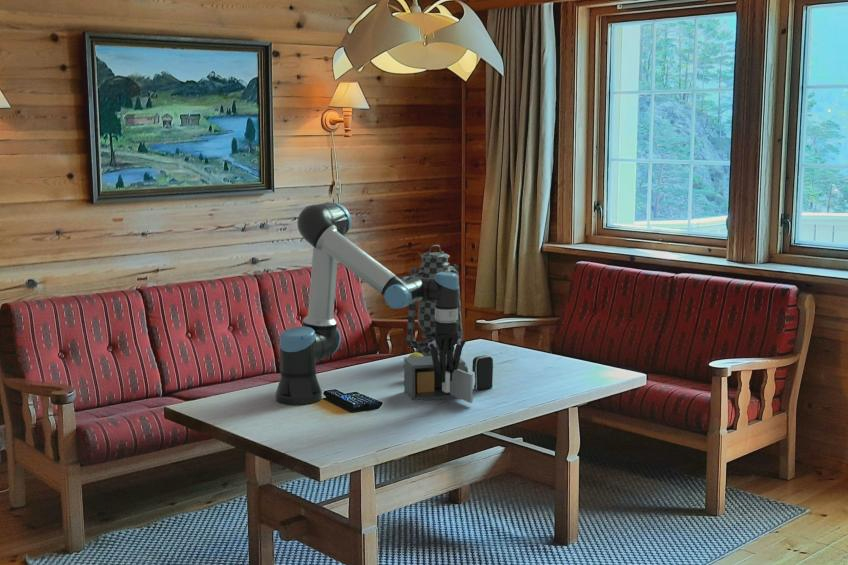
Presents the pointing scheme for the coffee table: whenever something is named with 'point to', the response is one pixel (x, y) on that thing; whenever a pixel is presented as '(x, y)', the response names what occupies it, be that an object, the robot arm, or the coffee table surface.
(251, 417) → the coffee table surface
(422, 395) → the small grey cabinet
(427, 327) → the lantern
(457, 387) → the cabinet door
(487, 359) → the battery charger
